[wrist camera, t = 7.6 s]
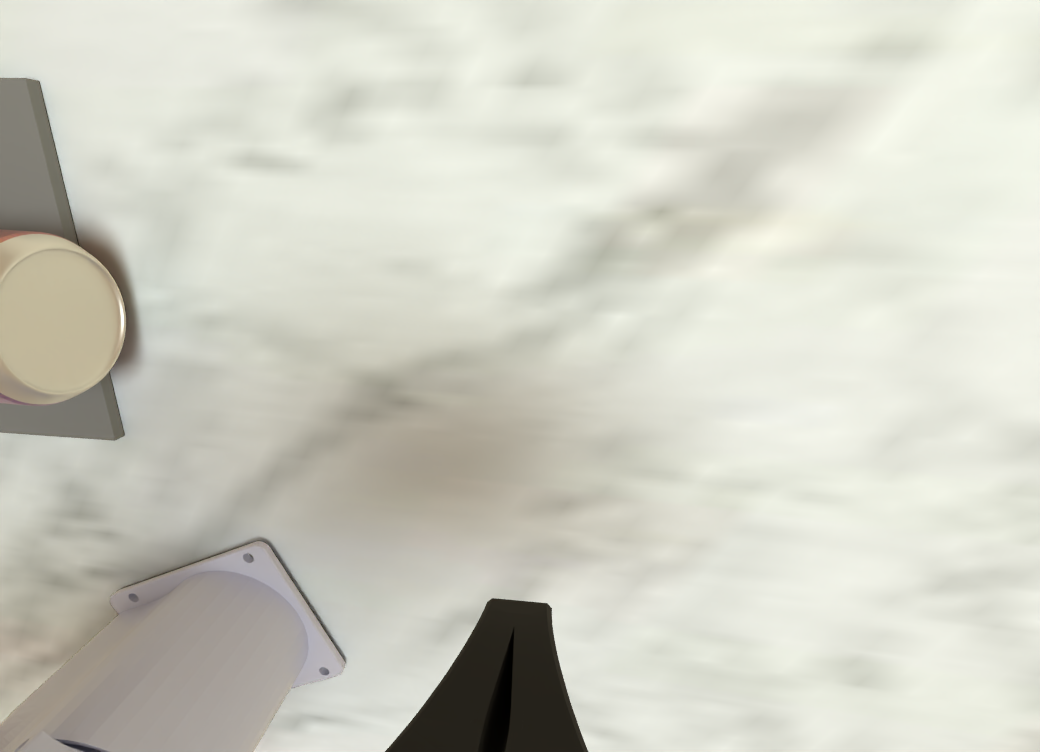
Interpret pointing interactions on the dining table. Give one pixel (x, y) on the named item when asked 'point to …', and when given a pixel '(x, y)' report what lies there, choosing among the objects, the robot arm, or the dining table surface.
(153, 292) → the dining table surface
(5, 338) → the beverage can
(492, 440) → the dining table surface
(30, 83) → the mat
